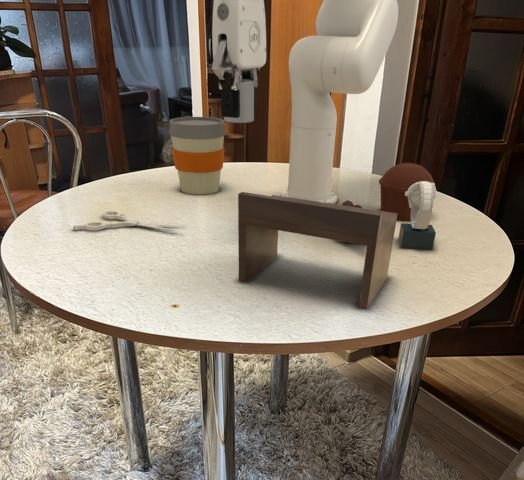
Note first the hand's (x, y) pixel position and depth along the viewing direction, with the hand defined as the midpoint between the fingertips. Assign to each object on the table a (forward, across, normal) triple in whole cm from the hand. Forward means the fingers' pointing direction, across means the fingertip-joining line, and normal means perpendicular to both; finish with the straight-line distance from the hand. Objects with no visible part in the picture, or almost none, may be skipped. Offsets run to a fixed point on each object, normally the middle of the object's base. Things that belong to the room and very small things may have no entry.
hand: (239, 113), depth 86 cm
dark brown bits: (+21, +5, -20) cm, 29 cm away
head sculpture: (+21, +10, -31) cm, 38 cm away
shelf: (+20, -14, -20) cm, 32 cm away
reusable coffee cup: (+21, +22, +22) cm, 37 cm away
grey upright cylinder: (+1, 0, 0) cm, 1 cm away
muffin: (+21, +26, -25) cm, 42 cm away
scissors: (+20, -7, +19) cm, 29 cm away
